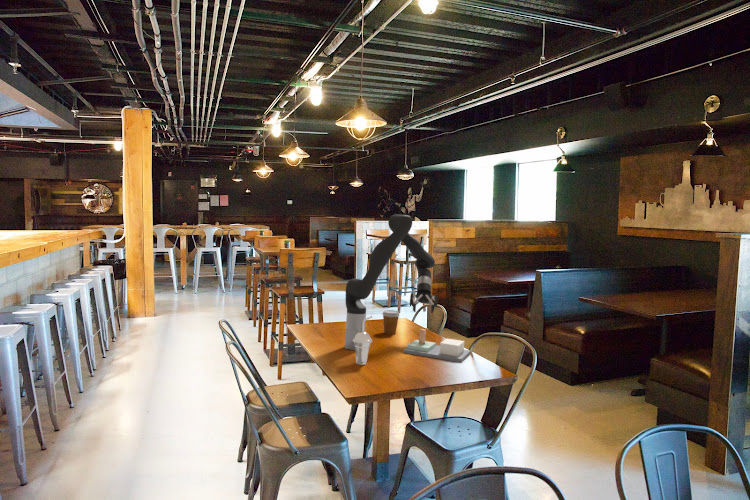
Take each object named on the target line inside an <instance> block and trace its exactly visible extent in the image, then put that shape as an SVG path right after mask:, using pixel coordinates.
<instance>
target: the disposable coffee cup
mask: <svg viewBox="0 0 750 500" xmlns="http://www.w3.org/2000/svg"><path fill="white" fill-rule="evenodd" d="M382 318H383V333H384V334H385V335H396V333H397V328H398V322H399V318H400V311H397V310H392V309H386V310H383V312H382Z"/></svg>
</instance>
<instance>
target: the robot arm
mask: <svg viewBox="0 0 750 500" xmlns="http://www.w3.org/2000/svg"><path fill="white" fill-rule="evenodd" d="M412 227H413V218H412V217H411V216H410V215H408V214H397V213H396V214H393V215H390V217H389V218H388V228H389V229H390V231H391V232H392V233H390V235H388V236H387V237H385V238H384V239H383V240H381V241H380V242H378V243H377V244H376V246H375V247H374V248H373V250H372V251H371V253H370V255H369V259H368V270H367V272H366V274H365V275H364V276H363V278H362V279H360V278H351V279H350V280H349V281H347V283H346V285H345V286H346V287H345V308H346V318H345V319H346V321H345V322H346V323H345V335H344V349H346V350H352V351H355V345H354V342H353V338H355V336H356V334H357V333H358V332H361V331H362V327H363V320H364V319H366V318H367V308H366V306H365V304H363V303H362V301H361V300H366V299H367V298H368V297H369V296H370V295H371V293H372V291H373V288H374V286H375V284H376V283H377V281H378V278H379V277H380V276H381V273H382V272H383V270H384V268H385V267H386V266H387V264H388V263H389V261H390V260H391V258H392V256H393V254H394V252H395V251H396V249H397V248H398V246H400V244H401V242H402V243H403V245H404V246H405V247H406V248H407V249H408V251H409V253H410V254H411V256H412V257H413V258H414V259H415V262H414V264H415V267H416V271H417V282H416V294H414V293H412V292H411V293H410V297H409V305H410V306H412V311H413V312H414V313H416V308H417V305H419V304H428V306H430V314H433V313H434V312H435V308H437V307H438V304H439V303H438V302H439V300H438V295H437V294H435V295H432V272H431V270H430V269H432V268H434V266H435V264H436V262H435V261H436V260H435V259H434V256H432V254H431V253H429V252H428V251H427V250H425V248H424V246H423V245H422V244H421V242H420V241H419V240H418V239H417V238H415V237H414V236H413V235H412V234H411V233H409V232H410V231H411V228H412ZM414 299H415V300H414ZM413 300H414V301H413ZM433 301H434V302H433ZM366 321H367V320H365V322H364V332H366Z"/></svg>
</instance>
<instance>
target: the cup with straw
mask: <svg viewBox="0 0 750 500" xmlns="http://www.w3.org/2000/svg"><path fill="white" fill-rule="evenodd" d="M372 318H373V316H372V315H371V316H369V317H366V319H364V320H363V327H362V331H361V332H358V333H357V334H356V336H355V338H353V342H354V345H355V350H354V353H355V364H356V365H362V366H363V365H367V361H368V358H369V350H370V346H371V343H373V339H372V338H371V336H370V334H369V332H367V331H365V332H364V322H365V323H366V321H368V320H370V319H372ZM365 320H366V321H365Z"/></svg>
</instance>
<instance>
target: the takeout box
mask: <svg viewBox="0 0 750 500" xmlns="http://www.w3.org/2000/svg"><path fill="white" fill-rule="evenodd" d="M439 346H440V354H446V355H452V356H459V355H460V354H461V353H462V352H464V350H465V340H460V339H454V338H445V339H444V340H442V341H441V342H440V343H439Z"/></svg>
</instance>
